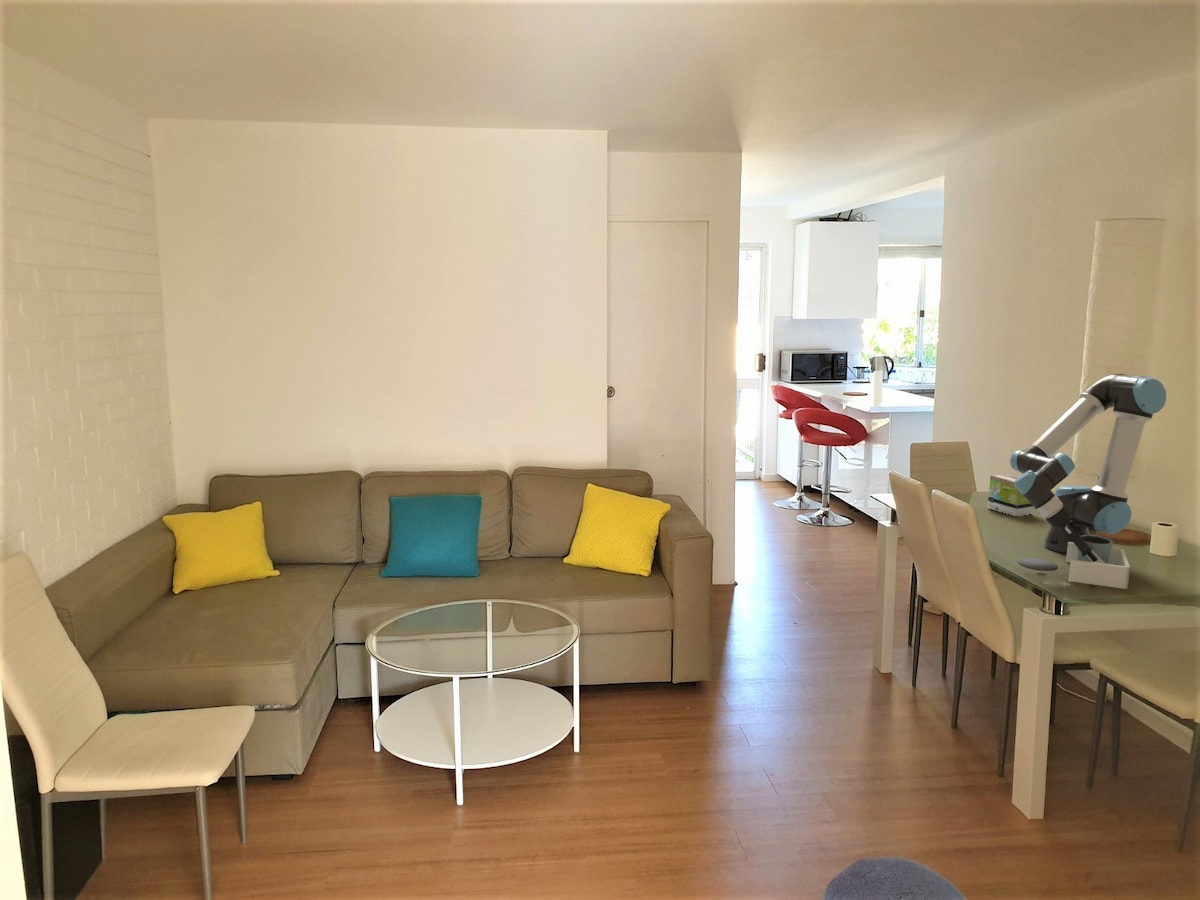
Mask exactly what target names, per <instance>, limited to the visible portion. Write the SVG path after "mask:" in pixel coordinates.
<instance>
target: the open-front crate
mask: <svg viewBox="0 0 1200 900" xmlns="http://www.w3.org/2000/svg"><path fill="white" fill-rule="evenodd" d="M1077 549H1078V547H1077V546H1076V545H1075V544H1074V543H1073V542H1068V548H1067V553H1066V558H1065V563H1069V564H1070V565H1069V573H1068V582H1072V583H1080V584H1087V585H1093V586H1103V587H1109V588H1114V589H1115V588H1116V589H1125V590H1128V587H1129V580H1130V572H1131V571H1130V570H1131V566H1130V563H1129V561H1128V558H1127V555H1126V551H1125V549H1124V548H1122V547H1114V546H1112V548H1111V553H1110V556H1109V562H1108V564H1103V563H1095V562H1087V561H1079V560H1077V555H1078V551H1077Z"/></svg>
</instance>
